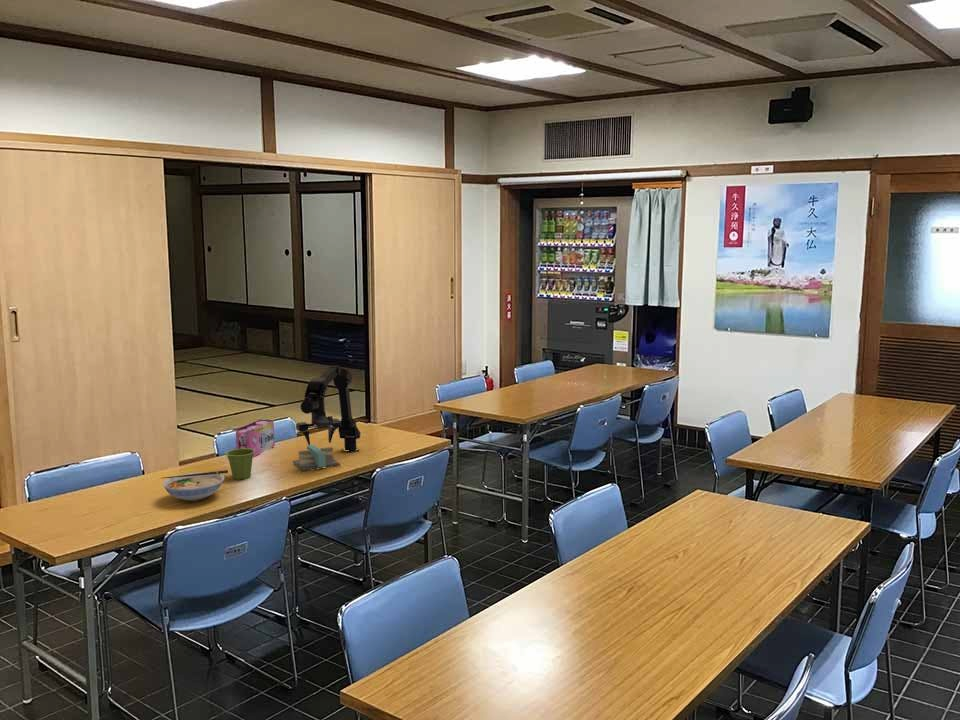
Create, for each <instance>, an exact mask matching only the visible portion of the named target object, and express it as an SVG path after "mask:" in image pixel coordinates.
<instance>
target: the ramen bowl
mask: <svg viewBox="0 0 960 720" xmlns="http://www.w3.org/2000/svg"><path fill="white" fill-rule="evenodd" d="M228 473H229V470H228V469H226V470H225V469H224V470H216V471H207V472H205V471H203V472H201V471H200V472H190V473H185V474H180V475H179V474H178V475H174V476H165V477H161V478H160V479H161V480H162V479H165V480H164V481H163V482H162V486H163V488H164V489H165V491H166V492H167V493H168V494H169V495H170V496H172V497H174V498H176V499H177V500H183V501H186V502H198V501H202V500H203V499H205V498H208V497H209V496H211V495H214V493H216V492H217V491H218V489H219V488H220V487H221V486H222V484H223V483H224V480H225V476H224V475H223V474H228Z"/></svg>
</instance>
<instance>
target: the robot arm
mask: <svg viewBox="0 0 960 720" xmlns="http://www.w3.org/2000/svg"><path fill="white" fill-rule="evenodd" d="M352 379H353V375H352V373H351V371H350V370H348V369H345V368H342V367H341V366H339V365H330V366H329V367H328V368H327V369H326V370H325V371H324V372H323V373H322V374H321V375H320V376H319V377H317V378H313V379H311V380H310V381H309V382H308V384H307V385H306V390H305V393H304V400H303V401H302V402H301V403H300V410H301V411H302V413H304V414H311V419H310V420H311V422H310V423H307V422H306V421H305V422H304V421H303V422H297V423H296V424H295V429H296V430H297V431H298V432H300V433H302V434H303V436H304V439H305V441H306V443H307V446H308V445H309V446H310V445H311V441H310V431H309V429H312V428H317V429H318V430H322V429H328V430H327V432H328V433H327V434H328V435H327V436H328V443H329V444H331V442H332V439H333V437H334V434H335V431H336V430H338V435H339V439H343V443H344V448H345V450H349V451H354V452H356V451H355V450H356V449H358V446H357V439H360V438H361V433H362V432H360V429H359V427H357V422H356V420H355V419H354V418H353V415H352V405H351V397H350V387H351V384H352V381H353V380H352ZM332 381H333V384H334V386H335V388H336V389H337V390H338V397H339V399H338V400H339V408H340V414H341V415H340V416H341V417H340V419H338V418H334V417H333V415H329V416H327V415H326V409H325V407H326V406H325V398H326V397H327V396H326V394H325V393H326V392H327V390H328V385H329V384H330V383H331V382H332Z"/></svg>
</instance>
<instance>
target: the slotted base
mask: <svg viewBox="0 0 960 720" xmlns="http://www.w3.org/2000/svg"><path fill="white" fill-rule="evenodd" d="M333 449H334V447H333V446H326V447H325V446H324V447H320V450H321V451H323V452H324V453H325V460H326V467H330V468H332V467H331V466H337V465H340V466H341V463H340V462H338V461H337V460H336V459H334V450H333ZM293 463H294V465H295V466H296V465H297V466H298V467H299V468H300V469H301V470H302V471H301V470H300V469H299V468H298V467H297V466H296V467H297V468H298V469H299V470H300V471H301V472H306V471H305V470H309V471H312V470H311V469H316V470H318V469H317V468H319V467H318V466H316V465H315V464H314V457H313V456H311V450H307V449H304V450H303V449H302V450H298V459H295V460H292V464H293ZM337 467H338V466H337ZM320 468H323V467H320ZM323 469H324V468H323Z"/></svg>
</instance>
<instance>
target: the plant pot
mask: <svg viewBox="0 0 960 720" xmlns="http://www.w3.org/2000/svg"><path fill="white" fill-rule="evenodd" d="M254 452H255V450H253V449H236V448H235V449H231V450H228V451H225V455H226V456H227V460H228V461H229V467H230V471H231V475H232V478H233V480H237V481H239V480H248V479H249V478H251V476H252V475H251V474H252V466H253V460H254V457H253V455H254Z"/></svg>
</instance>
